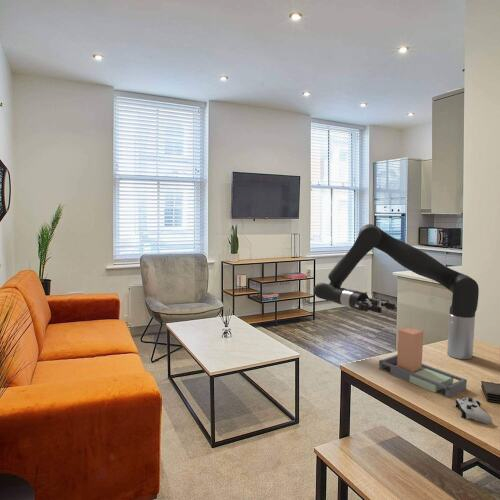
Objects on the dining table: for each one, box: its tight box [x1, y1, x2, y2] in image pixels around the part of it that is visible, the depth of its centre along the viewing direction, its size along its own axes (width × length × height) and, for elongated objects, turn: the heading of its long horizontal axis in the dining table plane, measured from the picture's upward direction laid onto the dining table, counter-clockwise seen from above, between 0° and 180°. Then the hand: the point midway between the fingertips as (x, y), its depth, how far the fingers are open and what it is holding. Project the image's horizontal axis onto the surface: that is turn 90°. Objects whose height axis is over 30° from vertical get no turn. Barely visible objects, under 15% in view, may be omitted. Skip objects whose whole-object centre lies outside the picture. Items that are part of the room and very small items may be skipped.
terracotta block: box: [397, 326, 424, 372], centre depth 145 cm, size 6×6×14 cm
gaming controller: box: [454, 397, 493, 425], centre depth 119 cm, size 11×6×7 cm
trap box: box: [378, 354, 468, 399], centre depth 142 cm, size 11×27×3 cm, turn 34°
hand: (388, 308), depth 151 cm, fingers open, 8 cm apart
